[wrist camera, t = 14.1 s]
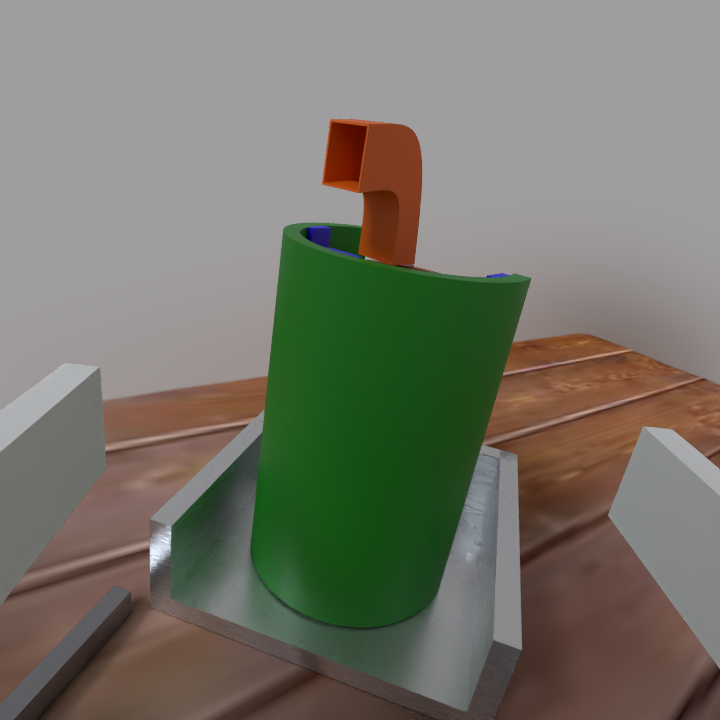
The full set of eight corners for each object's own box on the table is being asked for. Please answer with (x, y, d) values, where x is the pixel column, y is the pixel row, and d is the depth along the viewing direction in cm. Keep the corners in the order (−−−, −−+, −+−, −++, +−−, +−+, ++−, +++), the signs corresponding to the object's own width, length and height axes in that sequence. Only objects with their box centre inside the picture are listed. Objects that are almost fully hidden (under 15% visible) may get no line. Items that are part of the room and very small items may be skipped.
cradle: (150, 607, 22) (149, 518, 20) (277, 454, 34) (284, 390, 33) (486, 738, 19) (522, 650, 17) (495, 520, 32) (517, 454, 30)
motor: (465, 552, 27) (585, 160, 19) (379, 676, 20) (515, 133, 12) (319, 471, 32) (369, 129, 24) (207, 547, 25) (227, 96, 17)
